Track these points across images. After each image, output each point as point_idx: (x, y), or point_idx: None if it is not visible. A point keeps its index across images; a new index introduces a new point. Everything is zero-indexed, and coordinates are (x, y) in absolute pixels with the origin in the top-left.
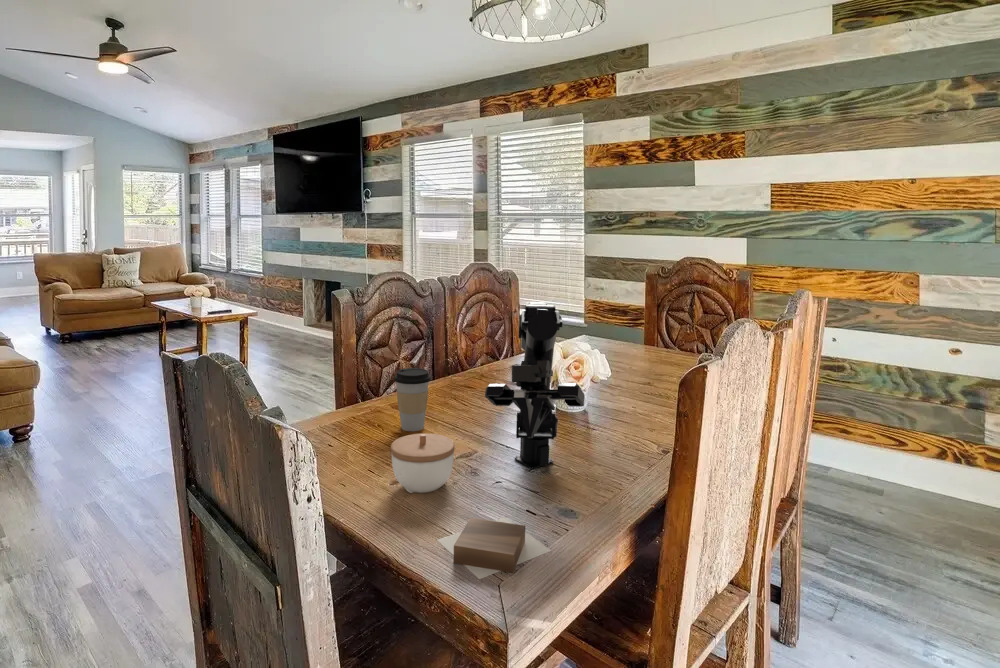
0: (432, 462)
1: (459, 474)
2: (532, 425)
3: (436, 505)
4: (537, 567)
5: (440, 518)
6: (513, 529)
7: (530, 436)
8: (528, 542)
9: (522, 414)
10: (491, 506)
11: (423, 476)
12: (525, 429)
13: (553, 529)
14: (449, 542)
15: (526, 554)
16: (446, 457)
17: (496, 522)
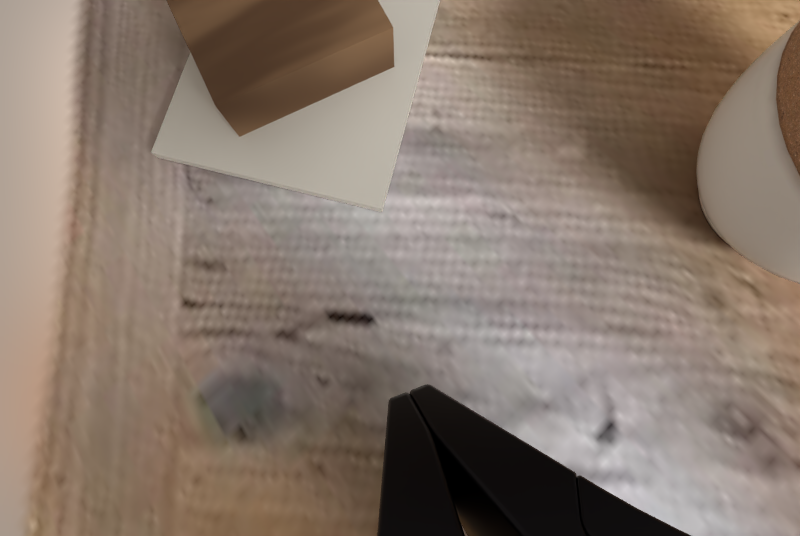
0: (778, 58)
1: (769, 371)
2: (408, 473)
3: (616, 136)
4: (156, 85)
5: (539, 90)
6: (232, 62)
7: (394, 397)
8: (229, 142)
9: (648, 521)
10: (480, 255)
11: (743, 73)
12: (471, 410)
13: (225, 275)
14: (406, 1)
15: (199, 92)
16: (780, 129)
17: (304, 58)
